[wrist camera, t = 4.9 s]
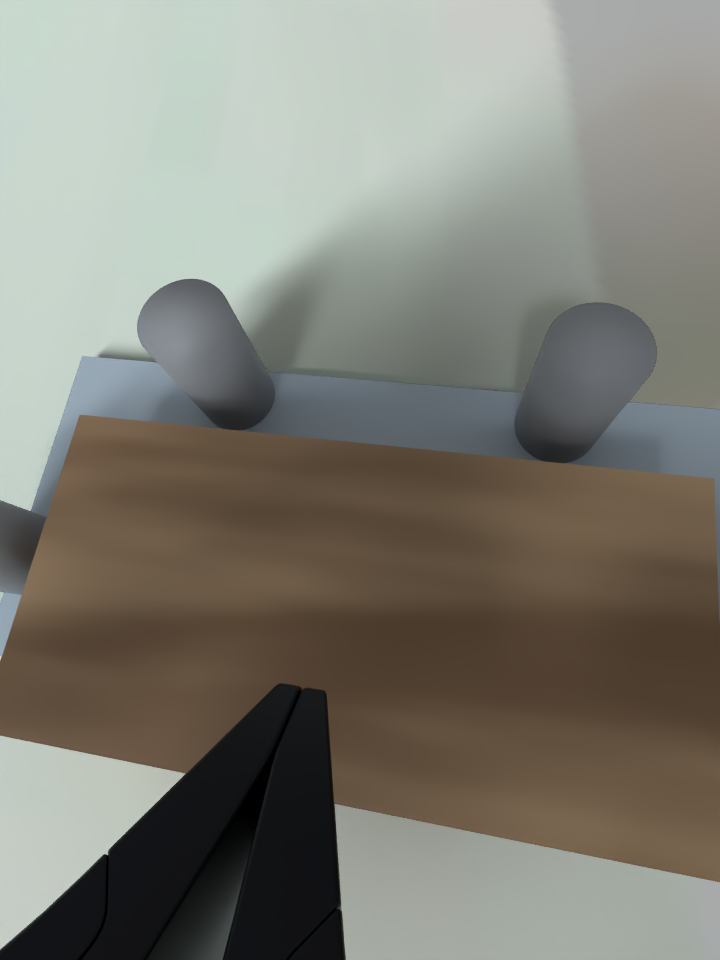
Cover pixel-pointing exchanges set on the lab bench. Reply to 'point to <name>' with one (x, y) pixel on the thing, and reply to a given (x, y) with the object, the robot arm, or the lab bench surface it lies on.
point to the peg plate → (378, 406)
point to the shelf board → (390, 628)
